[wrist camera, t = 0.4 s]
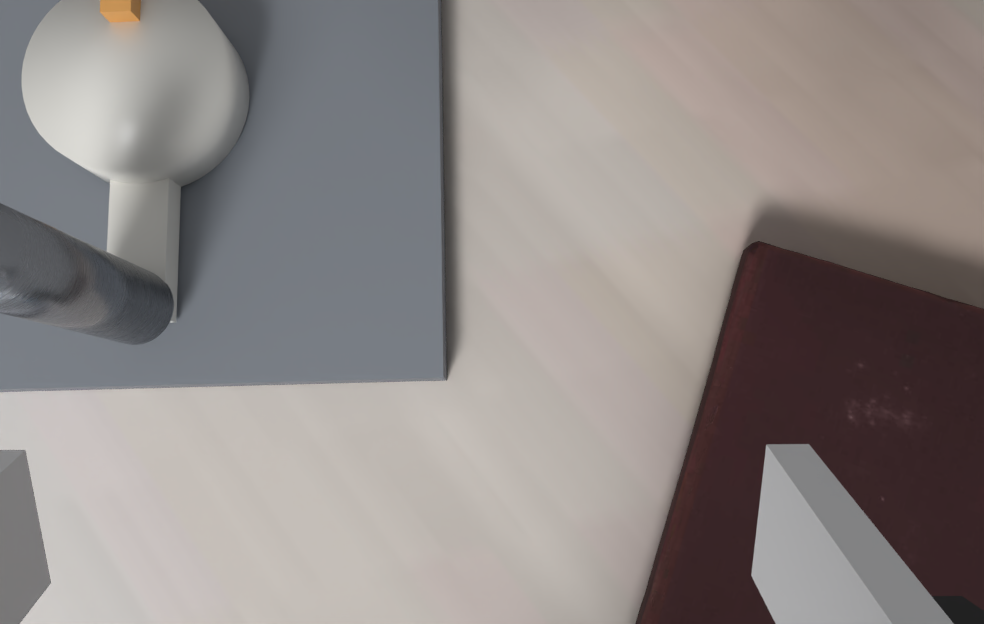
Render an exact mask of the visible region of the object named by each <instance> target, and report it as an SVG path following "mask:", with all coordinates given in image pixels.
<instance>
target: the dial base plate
mask: <svg viewBox="0 0 984 624" xmlns="http://www.w3.org/2000/svg"><path fill="white" fill-rule="evenodd" d="M59 1H61V0H0V203H1V204H3V205H6V206H8V207H10V208H12V209H14V210H17V211H19V212H21V213H23V214H25V215H28V216H30V217H32V218H34V219H36V220H39V221H41V222H43V223H45V224H47V225H49V226H52V227H54V228H56V229H58V230H60V231H63V232H65V233H67V234H69V235H71V236H74V237H76V238H78V239H80V240H82V241H85V242H87V243H89V244H91V245H93V246H95V247H98V248H100V249H102V250H104V251H106V252H107V235H108V214H109V193H110V183H108V182H106V181H104V180H102V179H101V178H99V177H98V176H96V175H94V174H93V173H91V172H90V171H88V170H86V169H85V168H83V167H82V166H80V165H78V164H77V163H75V162H74V161H72V160H70V159H69V158H67V157H66V156H64V155H62V154H61V153H59V152H58V151H56V150H55V149H54V148H53V147H52V146H50V145H49V144H48V143H47V142H46V141H45V140H44V138H43V137H42V136H41V135H40V134H39V133H38V131H37V130H36V128H35V126H34V125H33V123H32V121H31V119H30V117H29V115H28V113H27V110H26V106H25V103H24V100H23V93H22V67H23V60H24V57H25V53H26V49H27V47H28V44H29V42H30V39H31V37H32V35H33V33H34V32H35V30H36V28H37V26H38V25H39V23H40V22H41V21H42V19H43V18H44V17H45V15H46V14H47V13H48V12H49V11H50V10H51V9H52V8H53V7H54V6H55V5H56V4H57V3H58V2H59ZM198 1H199V2H200V3H201V4H202V5H203V6H204V7H205V8H206V10H207V11H208V13H209V14H210V15H211V17H212V18H213V19H214V21H215V22H216V23H217V25H218V26H219V27H220V29H221V30H222V32H223V33H224V34H225V36H226V37H227V38H228V40H229V41H230V42H231V44H232V45H233V47H234V48H235V50H236V51H237V52H238V54H239V56H240V58H241V60H242V62H243V64H244V67H245V70H246V73H247V78H248V83H249V97H250V98H249V109H248V113H247V118H246V122H245V124H244V127H243V130H242V132H241V134H240V136H239V138H238V140H237V142H236V144H235V145H234V147H233V148H232V149H231V151H230V152H229V154H228V155H227V156H226V157H225V158H224V159H223V160H222V161H221V163H220V164H218V165H217V166H216V167H215V168H214V169H213V170H211V171H210V172H209V173H207V174H206V175H204V176H203V177H201V178H200V179H198V180H196V181H194V182H192V183H190V184H187V185H185V186H182V187H181V200H180V229H179V258H178V286H177V315H176V322H174V323H169V324H168V326H167V327H166V329H165V330H164V331H163V332H162V333H161V334H160V335H159V336H158V337H157V338H155V339H154V340H152V341H150V342H147V343H144V344H140V345H128V344H123V343H119V342H115V341H111V340H107V339H103V338H99V337H95V336H91V335H87V334H83V333H79V332H75V331H71V330H67V329H63V328H59V327H54V326H50V325H46V324H42V323H38V322H34V321H30V320H26V319H22V318H18V317H14V316H10V315H6V314H2V313H0V392H14V391H53V390H91V389H130V388H169V387H207V386H246V385H285V384H323V383H362V382H400V381H439V380H447V362H446V295H445V227H444V160H443V92H442V25H441V0H198Z"/></svg>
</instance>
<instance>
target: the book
mask: <svg viewBox="0 0 984 624" xmlns="http://www.w3.org/2000/svg"><path fill="white" fill-rule="evenodd" d="M722 323H723V325H722V328H721V331H720V335H719V339H718V343H717V346H716V350H715V354H714V358H713V361H712V365H711V369H710V372H709V376H708V379H707V383H706V387H705V390H704V394H703V397H702V401H701V404H700V408H699V411H698V414H697V418H696V422H695V425H694V429H693V432H692V436H691V439H690V443H689V446H688V450H687V453H686V457H685V460H684V464H683V467H682V470H681V474H680V477H679V480H678V484H677V487H676V491H675V494H674V498H673V501H672V504H671V507H670V511H669V514H668V517H667V521H666V524H665V528H664V531H663V534H662V538H661V541H660V544H659V547H658V551H657V554H656V558H655V561H654V564H653V568H652V571H651V575H650V578H649V582H648V586H647V589H646V593H645V596H644V599H643V602H642V605H641V607H640V611H639V614H638V617H637V621H636V624H776V623H775V621H774V620H773V618H772V616H771V614H770V612H769V610H768V608H767V606H766V604H765V602H764V600H763V598H762V596H761V594H760V592H759V590H758V588H757V586H756V584H755V582H754V580H753V578H752V576H751V573H752V565H753V556H754V547H755V539H756V530H757V521H758V512H759V504H760V495H761V486H762V478H763V469H764V460H765V451H766V444H809V445H810V446H811V447H812V449H813V450H814V451H815V452H816V454H817V455H818V456H819V457H820V458H821V460H822V461H823V462H824V463H825V465H826V466H827V467H828V468H829V470H830V471H831V472H832V473H833V475H834V476H835V477H836V478H837V480H838V481H839V482H840V483H841V485H842V486H843V487H844V488H845V489H846V491H847V492H848V493H849V494H850V496H851V497H852V498H853V499H854V501H855V502H856V503H857V504H858V506H859V507H860V508H861V509H862V511H863V512H864V513H865V514H866V516H867V517H868V518H869V519H870V520H871V522H872V523H873V524H874V525H875V527H876V528H877V529H878V530H879V532H880V533H881V534H882V535H883V537H884V538H885V539H886V540H887V542H888V543H889V544H890V545H891V547H892V548H893V549H894V550H895V551H896V553H897V554H898V555H899V556H900V558H901V559H902V560H903V561H904V563H905V564H906V565H907V566H908V568H909V569H910V570H911V571H912V573H913V574H914V575H915V576H916V578H917V579H918V580H919V581H920V583H921V584H922V585H923V586H924V587H925V589H926V590H927V591H928V592H929V594H930V595H931V596H963V597H964V598H966V599H967V600H969V601H970V602H972V603H973V604H975V605H976V606H978V607H979V608H980V609H982V610H983V611H984V309H981V308H978V307H975V306H972V305H968V304H965V303H961V302H958V301H954V300H951V299H947V298H944V297H941V296H938V295H935V294H932V293H929V292H926V291H922V290H919V289H915V288H911V287H908V286H905V285H902V284H898V283H895V282H892V281H889V280H886V279H883V278H879V277H876V276H873V275H870V274H866V273H863V272H860V271H856V270H853V269H850V268H847V267H843V266H840V265H837V264H834V263H831V262H828V261H824V260H820V259H816V258H813V257H810V256H807V255H803V254H800V253H797V252H793V251H789V250H785V249H782V248H779V247H776V246H773V245H769V244H766V243H763V242H760V241H758V242H755V243H752V244H751V245H749V246H748V247H747V248H746V249H745V250H744V251H743V254H742V257H741V260H740V264H739V267H738V271H737V274H736V277H735V281H734V284H733V288H732V292H731V296H730V299H729V303H728V307H727V310H726V314H725V318H724V321H723V322H722Z"/></svg>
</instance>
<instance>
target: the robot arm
mask: <svg viewBox="0 0 984 624" xmlns="http://www.w3.org/2000/svg"><path fill="white" fill-rule="evenodd" d="M751 576H752V578H753V580H754V582H755V584H756V586H757V588H758V590H759V592H760V594H761V596H762V598H763V600H764V602H765V604H766V606H767V608H768V610H769V612H770V614H771V616H772V618H773V620H774V621H775V623H776V624H984V611H983V610H982V609H980V608H979V607H978V606H976V605H975V604H973V603H972V602H970V601H969V600H967V599H966V598H964V597H963V596H931V595H930V594H929V592H928V591H927V590H926V589H925V587H924V586H923V585H922V584H921V583H920V581H919V580H918V579H917V578H916V576H915V575H914V574H913V573H912V571H911V570H910V569H909V568H908V566H907V565H906V564H905V563H904V561H903V560H902V559H901V558H900V556H899V555H898V554H897V553H896V551H895V550H894V549H893V548H892V547H891V545H890V544H889V543H888V542H887V540H886V539H885V538H884V537H883V535H882V534H881V533H880V532H879V530H878V529H877V528H876V527H875V525H874V524H873V523H872V522H871V520H870V519H869V518H868V517H867V516H866V514H865V513H864V512H863V511H862V509H861V508H860V507H859V506H858V504H857V503H856V502H855V501H854V499H853V498H852V497H851V496H850V494H849V493H848V492H847V491H846V489H845V488H844V487H843V486H842V485H841V483H840V482H839V481H838V480H837V478H836V477H835V476H834V475H833V473H832V472H831V471H830V470H829V468H828V467H827V466H826V465H825V463H824V462H823V461H822V460H821V458H820V457H819V456H818V455H817V454H816V452H815V451H814V450H813V449H812V447H811V446H810V445H809V444H766V451H765V460H764V469H763V478H762V486H761V495H760V504H759V512H758V521H757V530H756V539H755V547H754V556H753V565H752V573H751ZM50 583H51V580H50V575H49V570H48V565H47V559H46V554H45V549H44V544H43V539H42V534H41V528H40V523H39V518H38V513H37V508H36V503H35V497H34V492H33V487H32V482H31V477H30V471H29V466H28V461H27V456H26V451H25V450H0V624H20V622H21V621H22V620H23V618H24V617H25V616H26V615H27V613H28V612H29V611H30V609H31V608H32V607H33V605H34V604H35V603H36V602H37V600H38V599H39V598H40V596H41V595H42V594H43V592H44V591H45V590H46V589H47V587H48V586H49V585H50Z"/></svg>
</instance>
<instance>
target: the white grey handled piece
mask: <svg viewBox="0 0 984 624" xmlns="http://www.w3.org/2000/svg"><path fill="white" fill-rule="evenodd" d="M22 93H23V100H24V103H25V106H26V110H27V113H28V115H29V117H30V119H31V121H32V123H33V125H34V126H35V128H36V130H37V131H38V133H39V134H40V135H41V136H42V137H43V138H44V140H45V141H46V142H47V143H48V144H49V145H50V146H52V147H53V148H54V149H55V150H56V151H58V152H59V153H61V154H62V155H64V156H66V157H67V158H69V159H70V160H72V161H74V162H75V163H77V164H78V165H80V166H82V167H83V168H85V169H86V170H88V171H90V172H91V173H93V174H94V175H96V176H98V177H99V178H101V179H102V180H104V181H106V182H108V183H110V193H109V214H108V235H107V252H106V251H104V250H102V249H100V248H98V247H95V246H93V245H91V244H89V243H87V242H85V241H82V240H80V239H78V238H76V237H74V236H71V235H69V234H67V233H65V232H63V231H60V230H58V229H56V228H54V227H52V226H49V225H47V224H45V223H43V222H41V221H39V220H36V219H34V218H32V217H30V216H28V215H25V214H23V213H21V212H19V211H17V210H14V209H12V208H10V207H8V206H6V205H3V204H1V203H0V313H2V314H6V315H10V316H14V317H18V318H22V319H26V320H30V321H34V322H38V323H42V324H46V325H50V326H54V327H59V328H63V329H67V330H71V331H75V332H79V333H83V334H87V335H91V336H95V337H99V338H103V339H107V340H111V341H115V342H119V343H123V344H128V345H140V344H144V343H147V342H150V341H152V340H154V339H155V338H157V337H158V336H159V335H160V334H161V333H162V332H163V331H164V330H165V329H166V327H167V326H168V324H169V323H174V322H176V315H177V286H178V258H179V229H180V200H181V187H182V186H185V185H187V184H190V183H192V182H194V181H196V180H198V179H200V178H201V177H203V176H204V175H206V174H207V173H209V172H210V171H211V170H213V169H214V168H215V167H216V166H217V165H218V164H220V163H221V161H222V160H223V159H224V158H225V157H226V156H227V155H228V154H229V152H230V151H231V149H232V148H233V147H234V145H235V144H236V142H237V140H238V138H239V136H240V134H241V132H242V130H243V127H244V124H245V122H246V118H247V113H248V109H249V98H250V97H249V83H248V78H247V73H246V70H245V67H244V64H243V62H242V60H241V58H240V56H239V54H238V52H237V51H236V50H235V48H234V47H233V45H232V44H231V42H230V41H229V40H228V38H227V37H226V36H225V34H224V33H223V32H222V30H221V29H220V27H219V26H218V25H217V23H216V22H215V21H214V19H213V18H212V17H211V15H210V14H209V13H208V11H207V10H206V8H205V7H204V6H203V5H202V4H201V3H200V2H199V1H198V0H61V1H59V2H58V3H57V4H56V5H55V6H54V7H53V8H52V9H51V10H50V11H49V12H48V13H47V14H46V15H45V17H44V18H43V19H42V21H41V22H40V23H39V25H38V26H37V28H36V30H35V32H34V33H33V35H32V37H31V39H30V42H29V44H28V47H27V49H26V53H25V57H24V60H23V67H22Z"/></svg>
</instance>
